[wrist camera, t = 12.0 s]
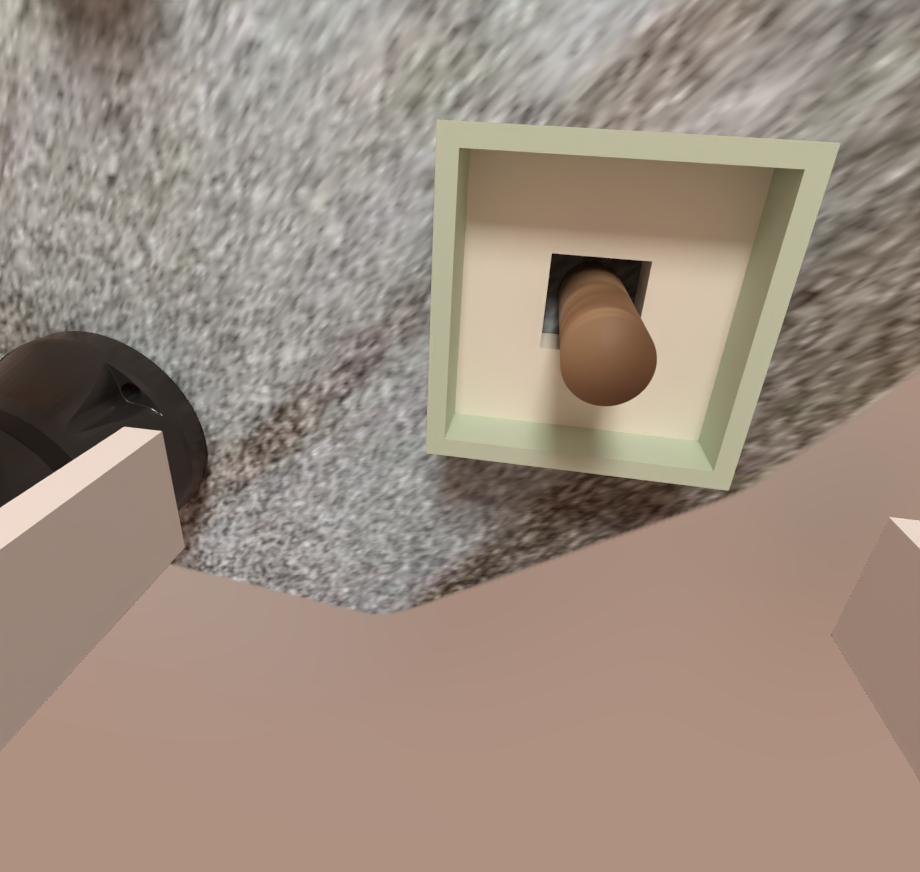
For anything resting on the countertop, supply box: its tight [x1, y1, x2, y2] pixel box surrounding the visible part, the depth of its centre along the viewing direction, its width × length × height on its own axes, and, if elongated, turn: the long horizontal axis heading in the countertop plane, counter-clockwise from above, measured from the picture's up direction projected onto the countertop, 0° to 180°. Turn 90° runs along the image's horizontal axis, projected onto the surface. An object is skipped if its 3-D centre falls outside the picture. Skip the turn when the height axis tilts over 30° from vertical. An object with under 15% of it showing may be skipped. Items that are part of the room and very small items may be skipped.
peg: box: [558, 262, 657, 406], centre depth 27 cm, size 4×4×12 cm
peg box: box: [426, 120, 840, 491], centre depth 29 cm, size 16×16×6 cm
